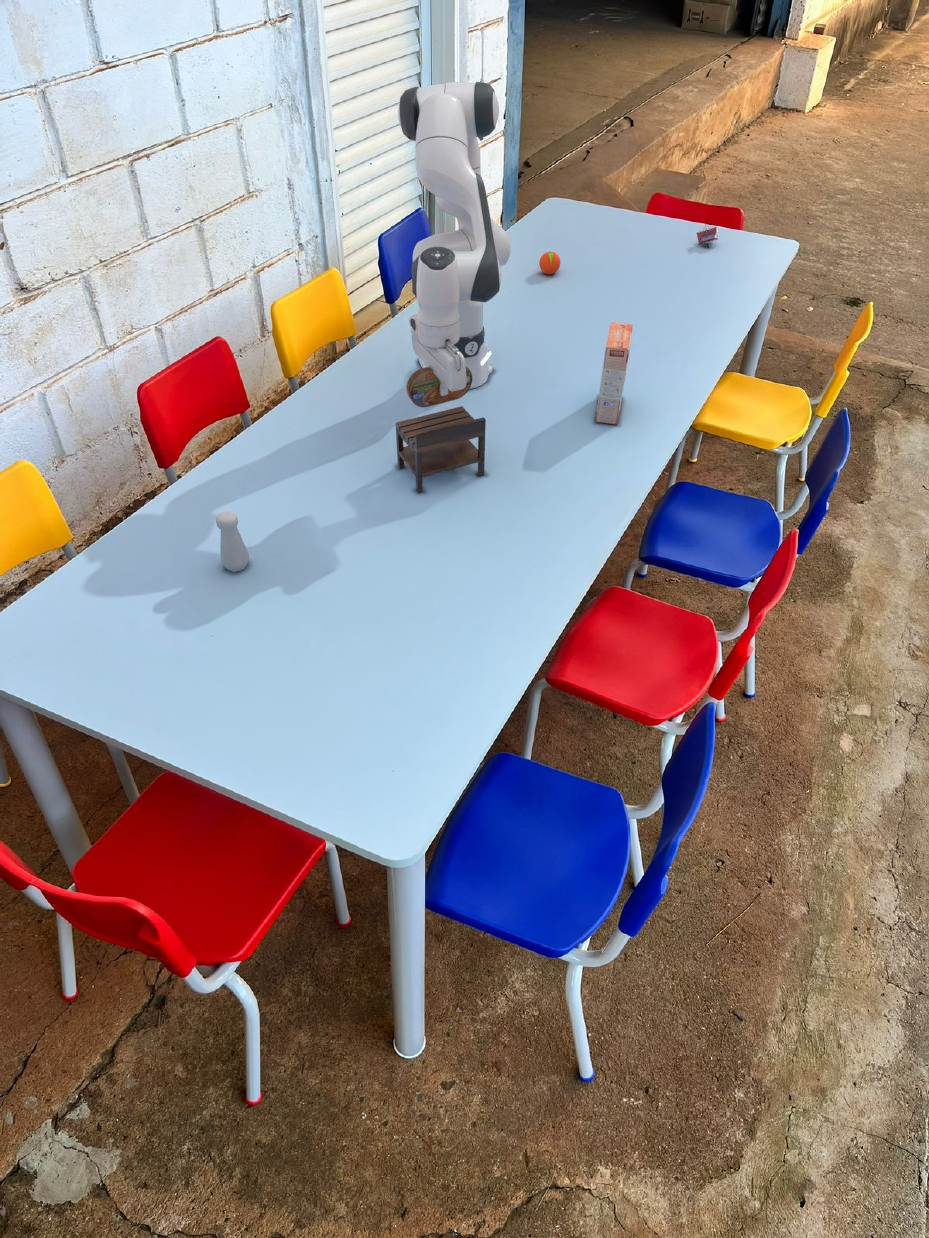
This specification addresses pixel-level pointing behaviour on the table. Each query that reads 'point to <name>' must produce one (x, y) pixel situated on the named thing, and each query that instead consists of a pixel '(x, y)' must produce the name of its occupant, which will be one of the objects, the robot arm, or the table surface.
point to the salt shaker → (231, 542)
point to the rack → (440, 443)
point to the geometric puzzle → (708, 235)
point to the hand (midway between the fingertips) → (439, 390)
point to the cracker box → (614, 372)
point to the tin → (432, 388)
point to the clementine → (549, 262)
